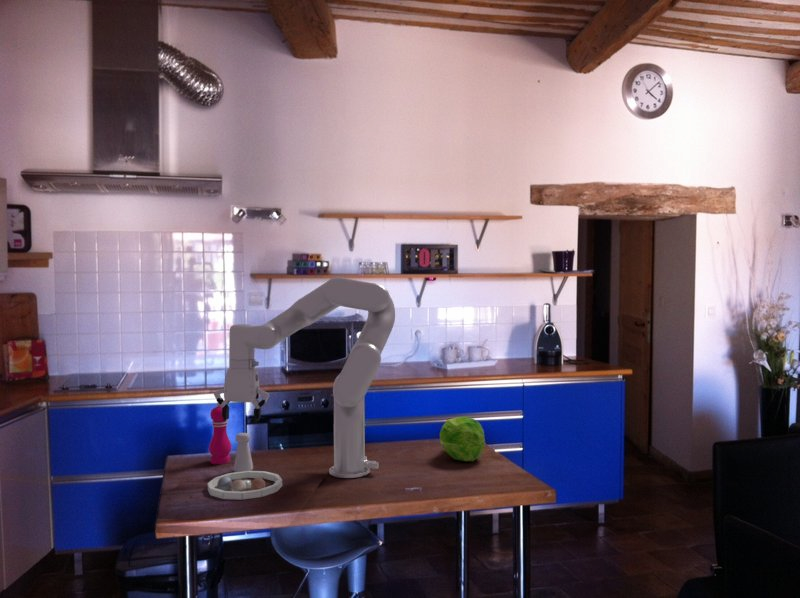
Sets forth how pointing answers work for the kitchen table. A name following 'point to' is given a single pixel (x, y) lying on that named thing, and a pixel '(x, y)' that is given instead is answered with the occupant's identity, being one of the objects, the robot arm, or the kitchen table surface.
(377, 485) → the kitchen table surface
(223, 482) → the dusty blue bead
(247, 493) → the tray
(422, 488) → the kitchen table surface
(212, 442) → the pepper mill
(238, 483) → the bead cream
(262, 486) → the bead terracotta
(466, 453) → the lettuce
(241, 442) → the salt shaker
